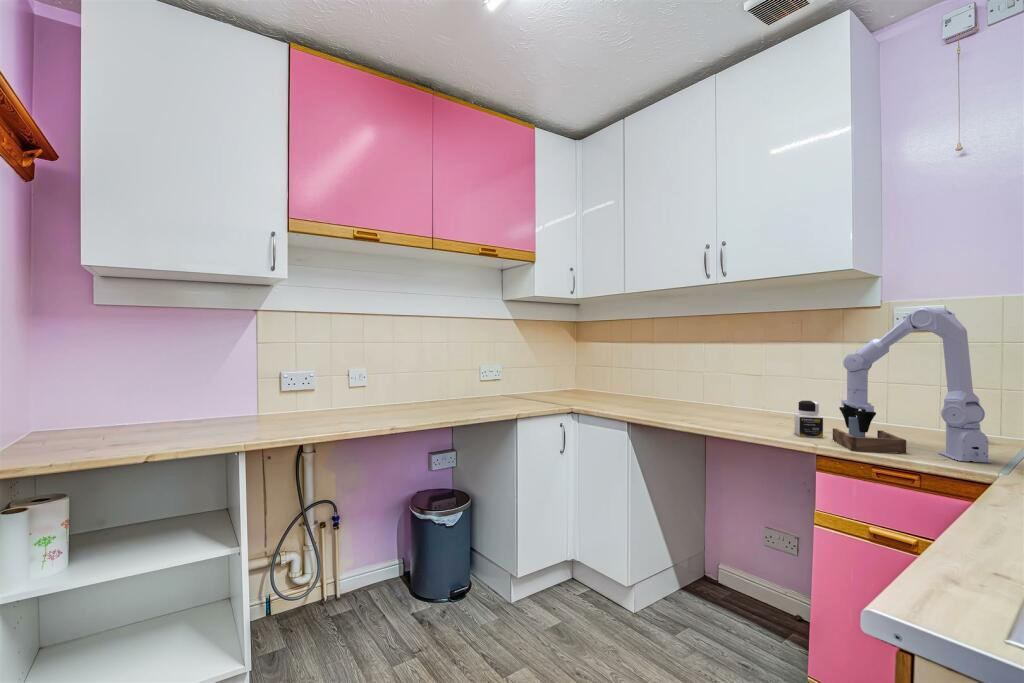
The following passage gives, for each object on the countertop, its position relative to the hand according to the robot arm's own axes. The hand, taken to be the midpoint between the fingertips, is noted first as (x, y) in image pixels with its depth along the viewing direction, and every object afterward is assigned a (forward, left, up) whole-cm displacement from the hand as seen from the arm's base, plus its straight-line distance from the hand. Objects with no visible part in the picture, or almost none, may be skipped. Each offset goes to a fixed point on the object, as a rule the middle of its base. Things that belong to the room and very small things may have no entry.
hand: (856, 430), depth 164 cm
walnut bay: (-13, +2, -3) cm, 13 cm away
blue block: (0, 0, -3) cm, 3 cm away
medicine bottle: (+2, +14, -3) cm, 14 cm away
